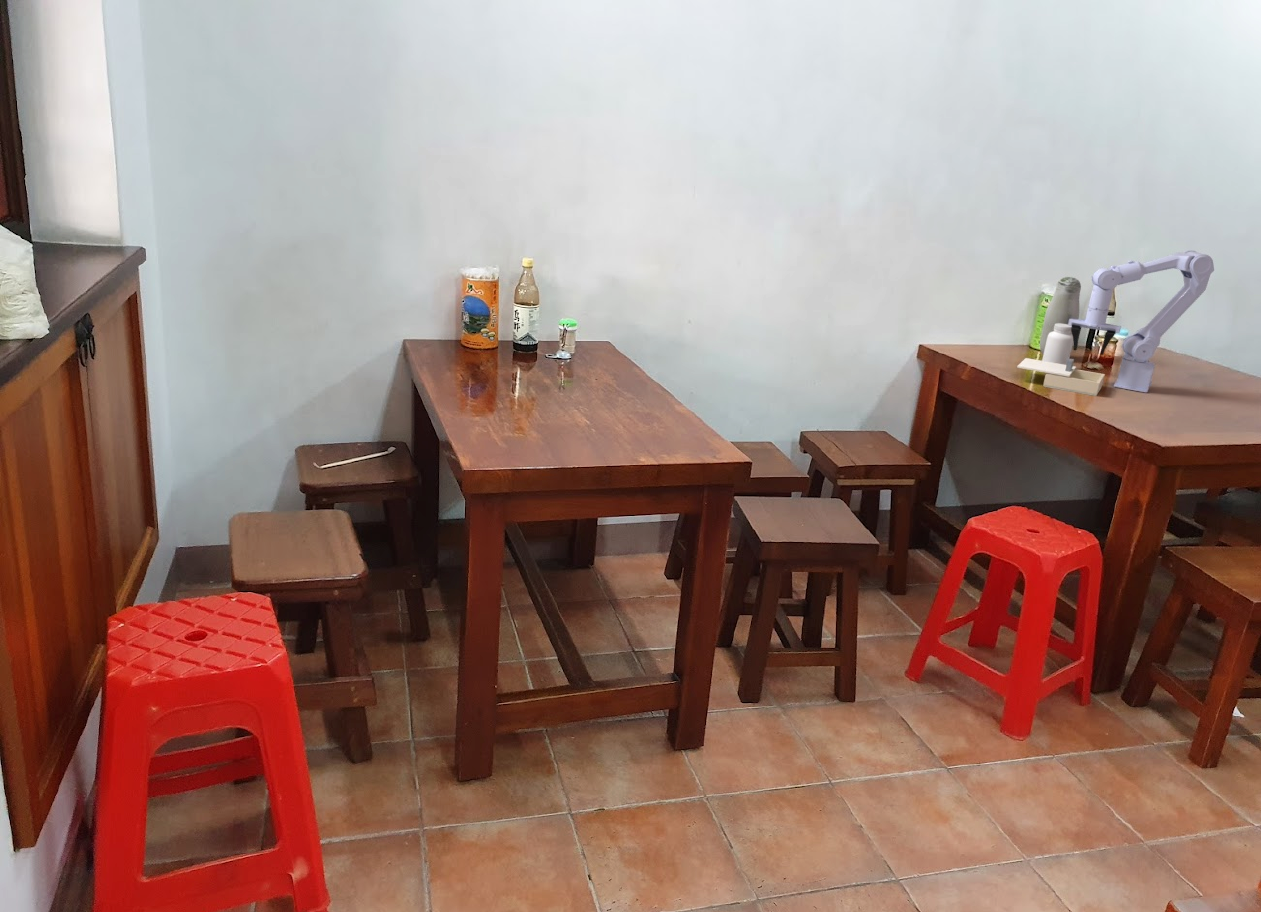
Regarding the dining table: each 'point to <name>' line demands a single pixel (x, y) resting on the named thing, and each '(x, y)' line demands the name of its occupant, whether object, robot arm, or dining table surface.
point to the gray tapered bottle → (1061, 307)
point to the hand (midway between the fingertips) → (1088, 352)
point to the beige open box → (1076, 382)
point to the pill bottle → (1058, 344)
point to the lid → (1048, 366)
